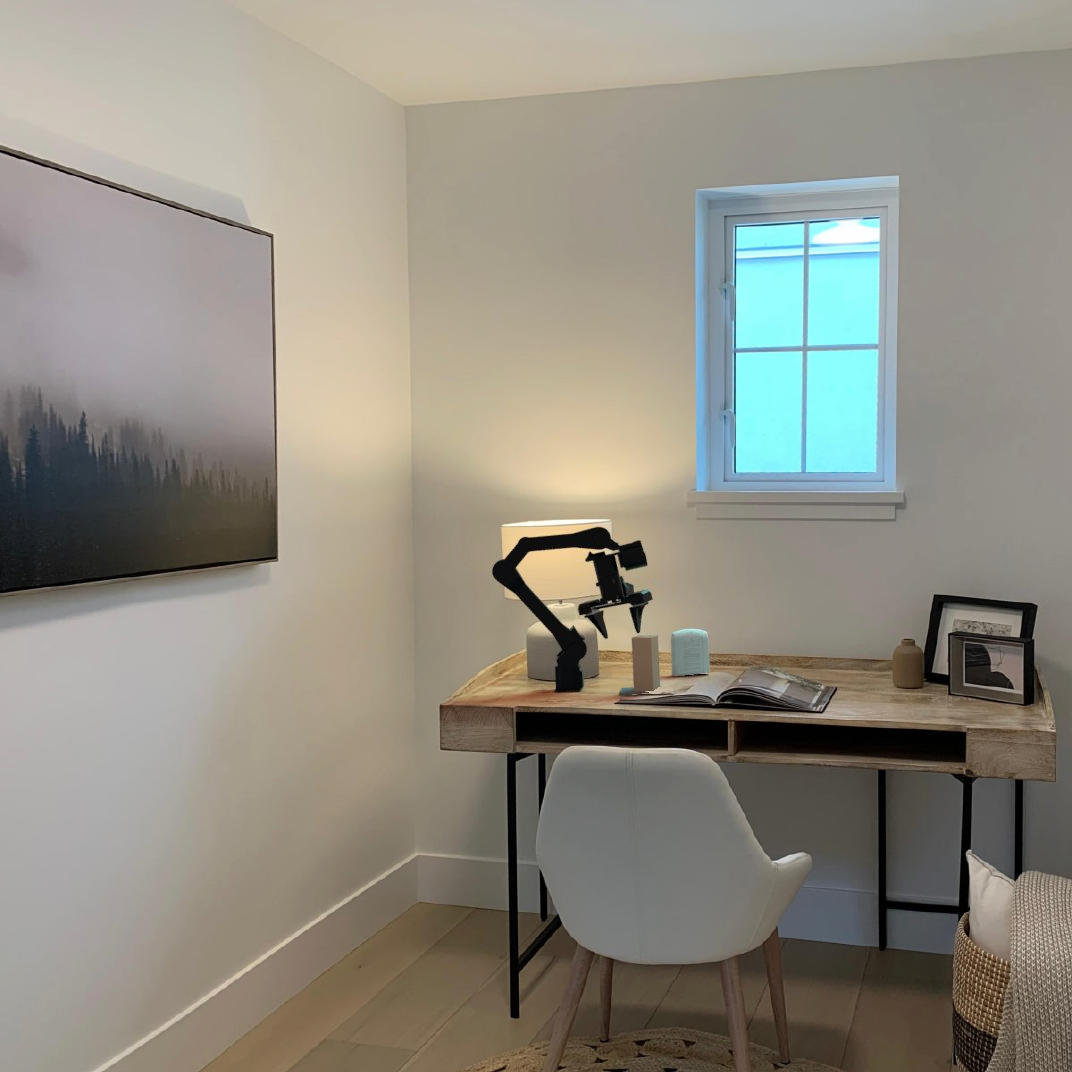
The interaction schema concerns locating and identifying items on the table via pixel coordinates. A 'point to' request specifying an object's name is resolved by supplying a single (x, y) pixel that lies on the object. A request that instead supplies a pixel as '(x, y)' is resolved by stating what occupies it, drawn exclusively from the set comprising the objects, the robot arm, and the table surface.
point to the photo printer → (689, 652)
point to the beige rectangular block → (645, 662)
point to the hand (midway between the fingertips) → (622, 635)
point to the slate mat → (629, 691)
